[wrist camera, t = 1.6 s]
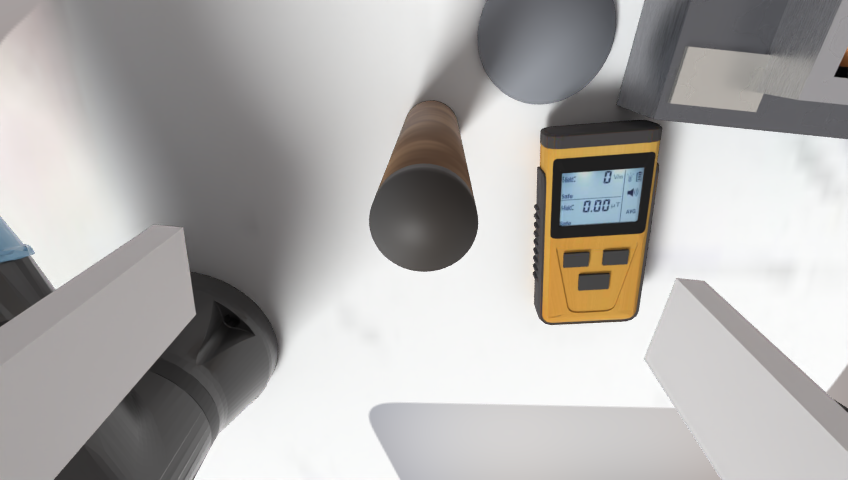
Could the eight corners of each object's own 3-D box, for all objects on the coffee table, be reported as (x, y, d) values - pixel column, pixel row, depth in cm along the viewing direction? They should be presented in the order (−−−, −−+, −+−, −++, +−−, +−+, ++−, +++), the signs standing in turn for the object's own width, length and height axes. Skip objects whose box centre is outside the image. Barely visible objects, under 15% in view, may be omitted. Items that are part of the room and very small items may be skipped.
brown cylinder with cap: (402, 152, 33) (367, 266, 17) (406, 97, 31) (371, 165, 15) (454, 157, 33) (469, 276, 17) (461, 103, 32) (485, 177, 15)
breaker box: (616, 104, 31) (683, 131, 23) (672, -103, 26) (787, -171, 17) (863, 129, 31) (1024, 165, 23) (967, -71, 26) (1225, -122, 18)
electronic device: (529, 306, 38) (536, 330, 35) (533, 127, 32) (542, 137, 29) (627, 302, 38) (643, 326, 35) (652, 118, 31) (675, 127, 28)
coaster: (469, 97, 31) (469, 97, 31) (489, -52, 27) (489, -53, 27) (593, 109, 31) (595, 110, 31) (630, -37, 28) (633, -38, 27)
